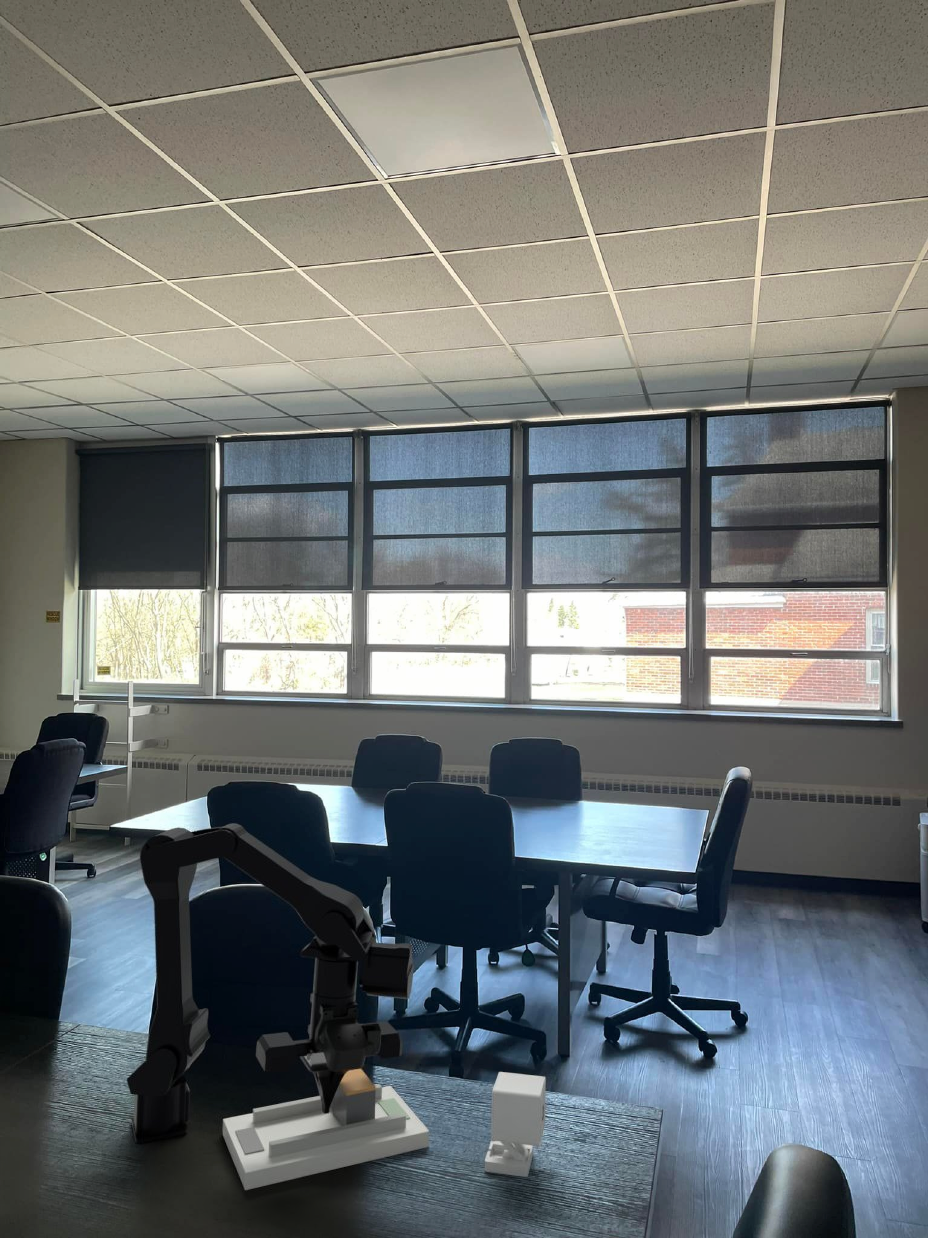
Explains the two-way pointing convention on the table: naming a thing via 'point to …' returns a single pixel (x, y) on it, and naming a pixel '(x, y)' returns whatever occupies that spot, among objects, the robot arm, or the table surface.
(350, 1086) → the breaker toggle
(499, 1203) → the table surface
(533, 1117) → the security camera
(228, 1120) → the white rail tray
